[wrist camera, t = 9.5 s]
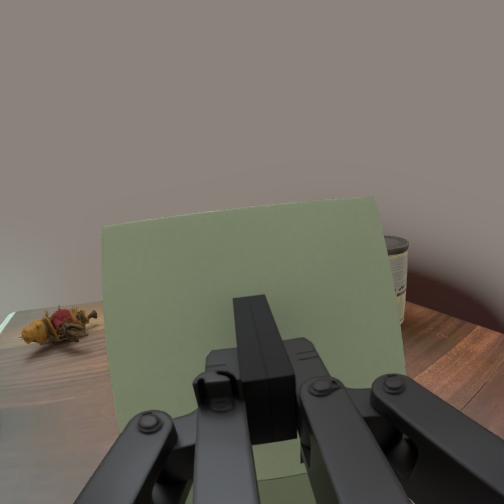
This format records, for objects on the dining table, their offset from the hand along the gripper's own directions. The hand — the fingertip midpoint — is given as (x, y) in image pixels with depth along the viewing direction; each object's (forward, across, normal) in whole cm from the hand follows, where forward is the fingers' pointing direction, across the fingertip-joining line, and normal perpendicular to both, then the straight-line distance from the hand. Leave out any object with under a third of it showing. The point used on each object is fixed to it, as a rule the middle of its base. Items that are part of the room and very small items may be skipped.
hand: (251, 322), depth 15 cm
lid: (+1, 0, -2) cm, 2 cm away
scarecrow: (+38, -37, -19) cm, 56 cm away
